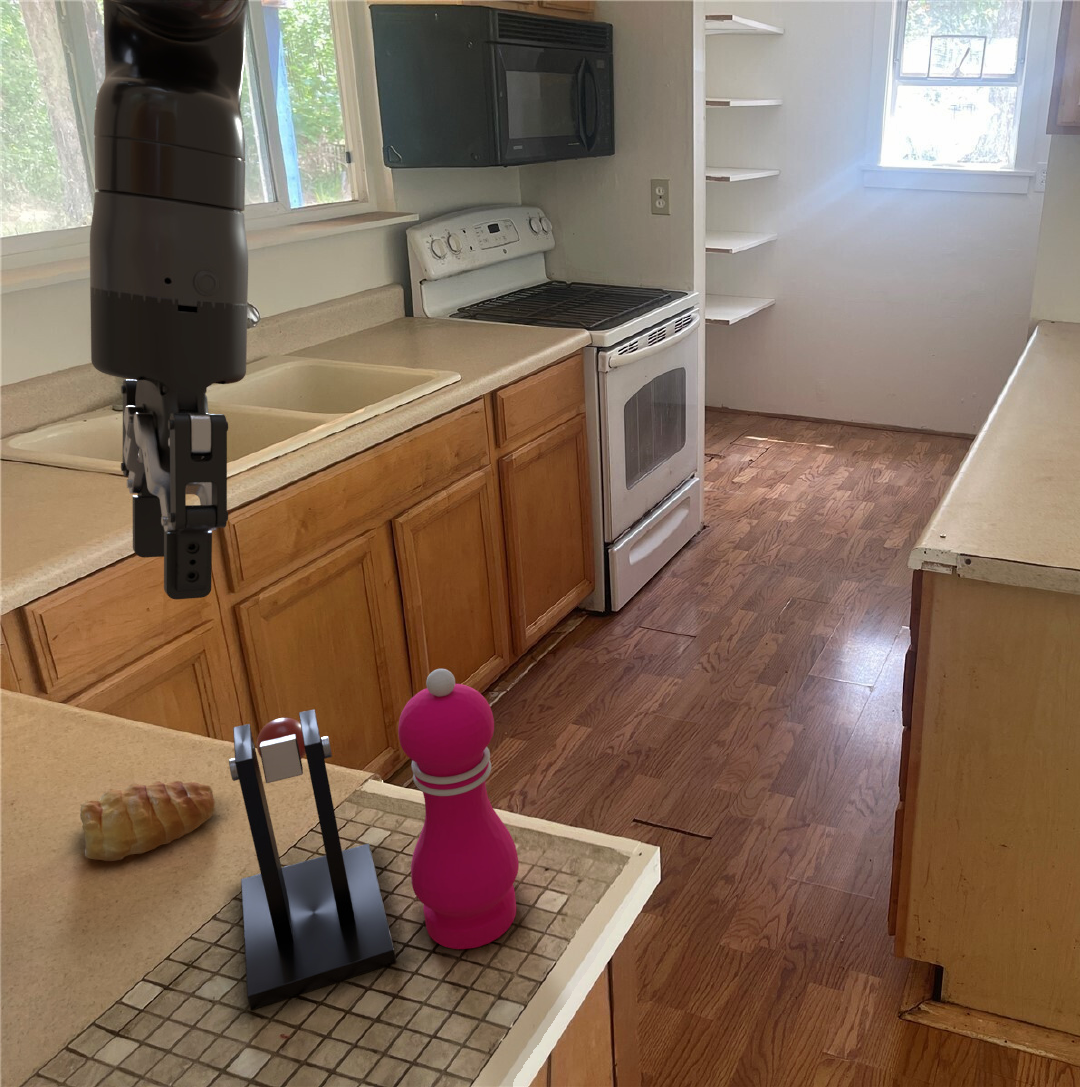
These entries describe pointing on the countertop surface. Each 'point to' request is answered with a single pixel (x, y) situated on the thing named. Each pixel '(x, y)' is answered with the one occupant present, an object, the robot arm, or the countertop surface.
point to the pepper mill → (457, 816)
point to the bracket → (306, 892)
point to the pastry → (143, 817)
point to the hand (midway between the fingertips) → (170, 575)
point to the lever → (281, 749)
